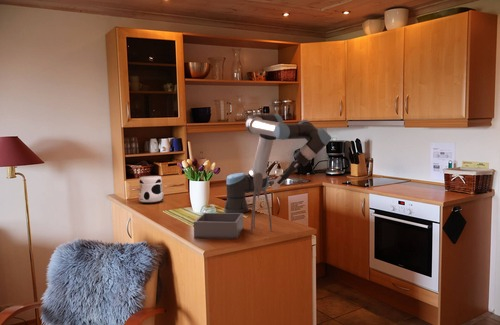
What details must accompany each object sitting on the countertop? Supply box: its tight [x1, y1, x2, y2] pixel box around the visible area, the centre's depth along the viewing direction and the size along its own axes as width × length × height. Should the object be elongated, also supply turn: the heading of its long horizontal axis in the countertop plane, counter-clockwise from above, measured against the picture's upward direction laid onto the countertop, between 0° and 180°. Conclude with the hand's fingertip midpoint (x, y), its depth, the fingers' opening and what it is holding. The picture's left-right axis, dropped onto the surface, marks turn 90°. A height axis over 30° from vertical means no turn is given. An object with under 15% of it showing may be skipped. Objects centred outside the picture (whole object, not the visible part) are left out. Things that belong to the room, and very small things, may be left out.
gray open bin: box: [193, 212, 244, 240], centre depth 211 cm, size 20×21×8 cm
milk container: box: [138, 175, 165, 204], centre depth 296 cm, size 17×17×18 cm
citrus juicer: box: [250, 172, 273, 235], centre depth 212 cm, size 11×10×30 cm
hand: (274, 185), depth 209 cm, fingers open, 13 cm apart
